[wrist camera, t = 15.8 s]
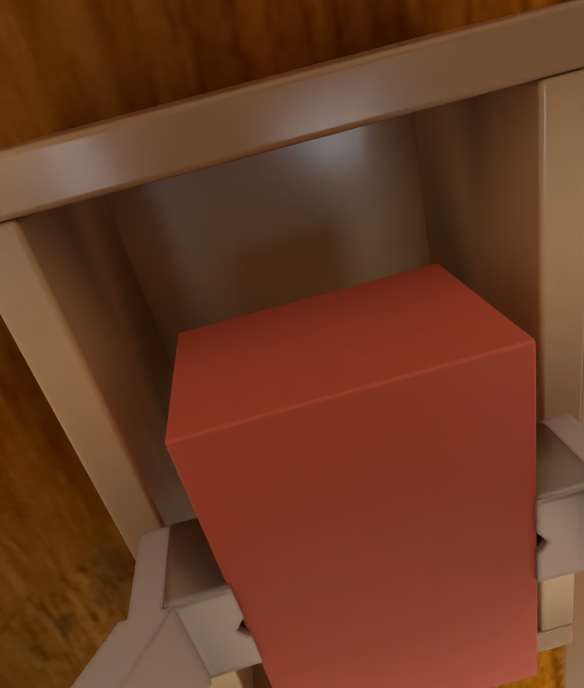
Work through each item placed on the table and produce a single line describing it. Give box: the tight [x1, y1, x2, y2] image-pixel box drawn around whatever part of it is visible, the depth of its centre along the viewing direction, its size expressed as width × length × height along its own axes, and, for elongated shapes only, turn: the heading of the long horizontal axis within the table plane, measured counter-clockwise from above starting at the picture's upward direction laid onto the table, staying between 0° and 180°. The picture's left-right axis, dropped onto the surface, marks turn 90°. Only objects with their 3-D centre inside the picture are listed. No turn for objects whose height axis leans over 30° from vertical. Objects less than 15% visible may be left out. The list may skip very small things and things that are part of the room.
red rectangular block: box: [165, 263, 538, 688], centre depth 9 cm, size 7×4×3 cm, turn 13°
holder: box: [0, 0, 584, 688], centre depth 12 cm, size 14×9×6 cm, turn 13°
